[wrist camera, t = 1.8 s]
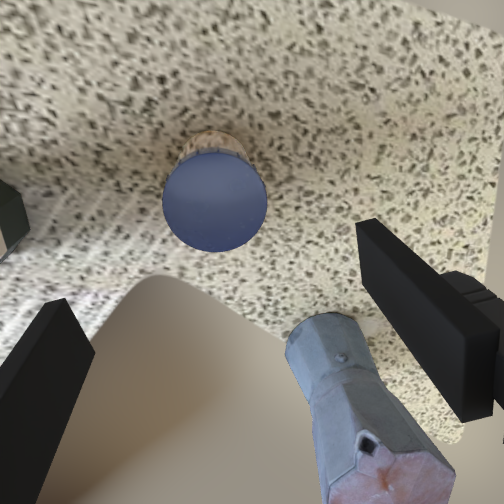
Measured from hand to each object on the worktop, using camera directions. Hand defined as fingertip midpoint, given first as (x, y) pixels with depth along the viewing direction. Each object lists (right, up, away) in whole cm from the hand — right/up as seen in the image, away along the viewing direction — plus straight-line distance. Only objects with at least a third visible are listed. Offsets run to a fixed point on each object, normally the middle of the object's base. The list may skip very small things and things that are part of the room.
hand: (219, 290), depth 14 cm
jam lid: (-1, +4, +9) cm, 10 cm away
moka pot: (+10, -9, +28) cm, 30 cm away
